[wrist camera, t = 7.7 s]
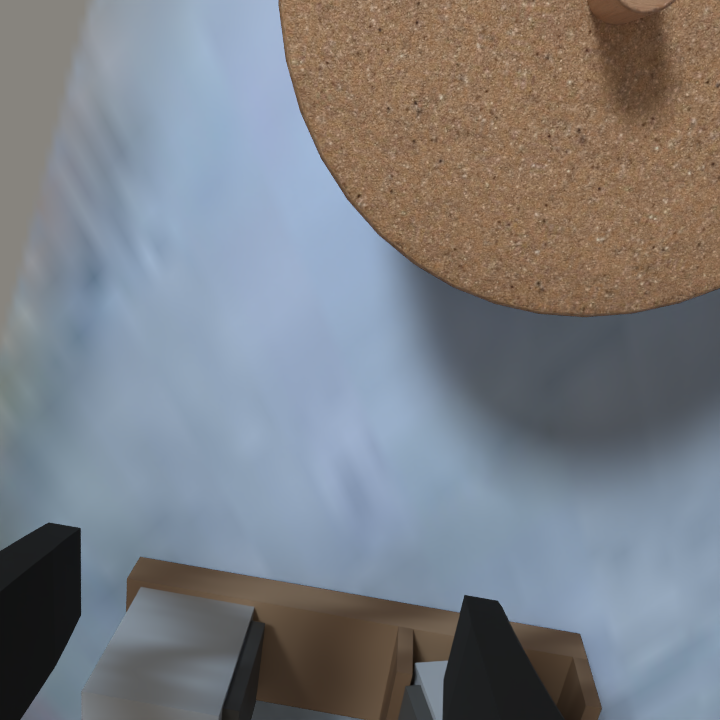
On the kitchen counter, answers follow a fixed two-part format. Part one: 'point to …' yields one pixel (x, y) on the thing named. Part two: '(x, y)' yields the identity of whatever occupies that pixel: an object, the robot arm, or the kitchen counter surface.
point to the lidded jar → (524, 141)
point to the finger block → (424, 692)
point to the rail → (288, 650)
